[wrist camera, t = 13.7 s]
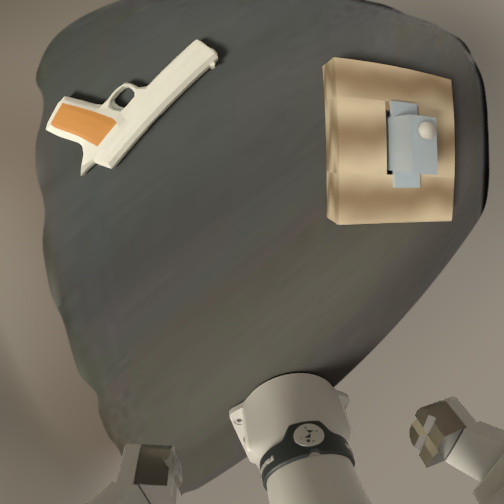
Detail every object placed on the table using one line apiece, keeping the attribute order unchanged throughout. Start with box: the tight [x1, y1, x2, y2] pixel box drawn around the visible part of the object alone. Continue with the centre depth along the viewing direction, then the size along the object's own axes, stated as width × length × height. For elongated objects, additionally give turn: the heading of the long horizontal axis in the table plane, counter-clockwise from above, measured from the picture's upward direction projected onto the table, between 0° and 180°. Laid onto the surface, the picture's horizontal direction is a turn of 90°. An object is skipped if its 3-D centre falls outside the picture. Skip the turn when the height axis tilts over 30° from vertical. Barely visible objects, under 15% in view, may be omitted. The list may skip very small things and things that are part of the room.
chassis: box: [323, 57, 455, 225], centre depth 33 cm, size 18×16×4 cm
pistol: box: [46, 39, 218, 176], centre depth 30 cm, size 2×20×11 cm
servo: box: [386, 101, 437, 188], centre depth 31 cm, size 10×3×9 cm, turn 4°
